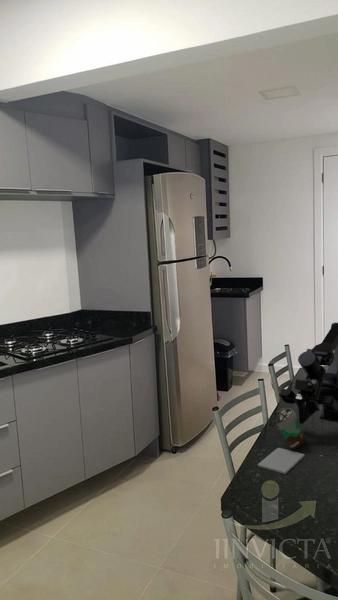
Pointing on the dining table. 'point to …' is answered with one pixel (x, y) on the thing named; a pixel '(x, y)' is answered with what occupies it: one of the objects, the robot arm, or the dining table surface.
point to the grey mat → (281, 460)
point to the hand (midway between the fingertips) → (300, 423)
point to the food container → (290, 427)
